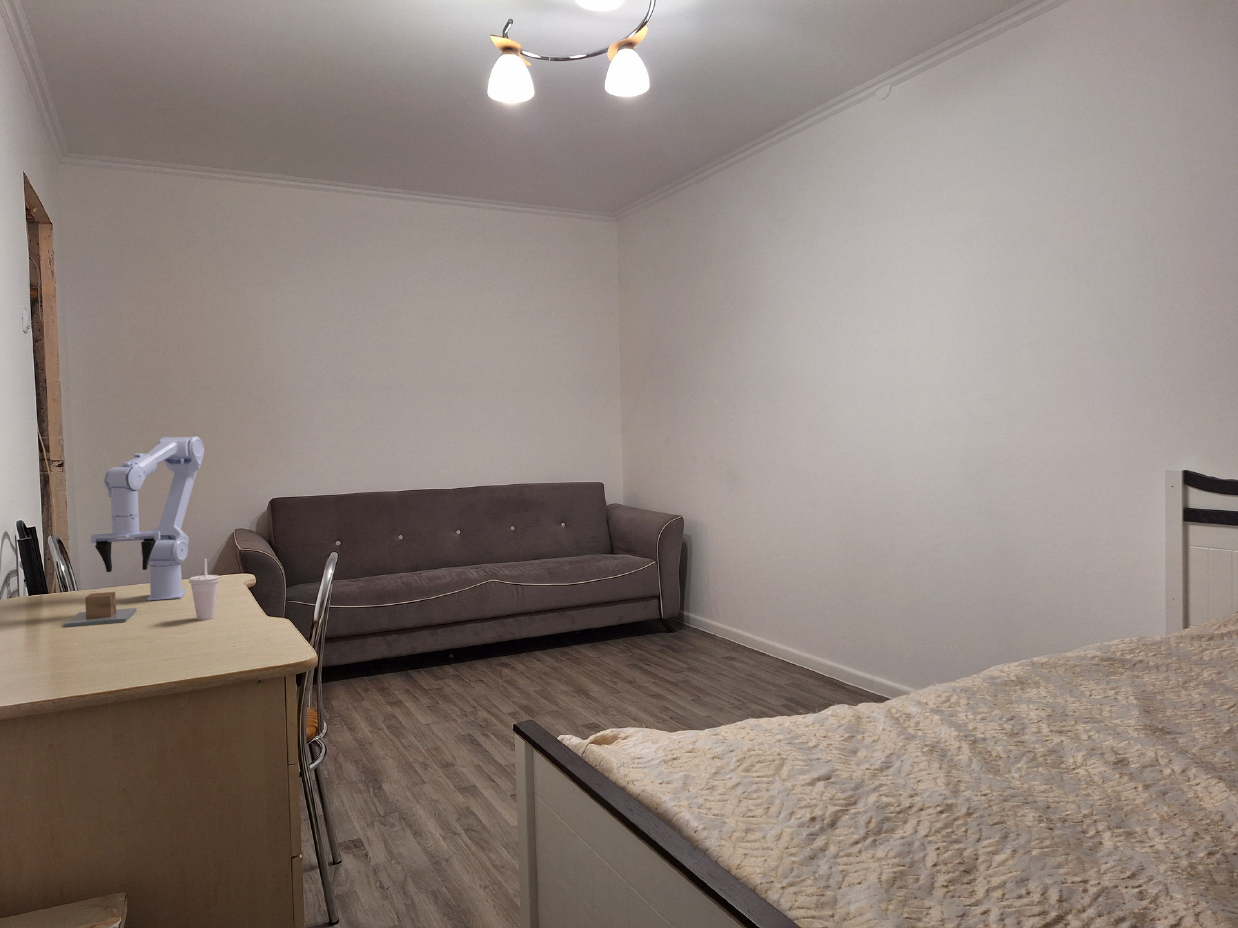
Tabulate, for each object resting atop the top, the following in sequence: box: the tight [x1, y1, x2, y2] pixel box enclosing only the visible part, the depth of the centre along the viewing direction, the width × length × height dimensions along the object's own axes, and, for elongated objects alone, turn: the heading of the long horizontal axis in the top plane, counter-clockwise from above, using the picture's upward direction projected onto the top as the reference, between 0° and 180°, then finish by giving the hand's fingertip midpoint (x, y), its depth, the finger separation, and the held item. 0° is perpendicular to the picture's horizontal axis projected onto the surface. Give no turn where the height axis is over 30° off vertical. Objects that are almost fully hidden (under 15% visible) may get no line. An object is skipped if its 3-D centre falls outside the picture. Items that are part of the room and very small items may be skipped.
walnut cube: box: [84, 591, 117, 619], centre depth 187 cm, size 5×5×5 cm
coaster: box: [63, 607, 137, 628], centre depth 188 cm, size 12×12×1 cm
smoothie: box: [188, 558, 220, 621], centre depth 187 cm, size 6×6×14 cm
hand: (127, 570), depth 196 cm, fingers open, 7 cm apart
